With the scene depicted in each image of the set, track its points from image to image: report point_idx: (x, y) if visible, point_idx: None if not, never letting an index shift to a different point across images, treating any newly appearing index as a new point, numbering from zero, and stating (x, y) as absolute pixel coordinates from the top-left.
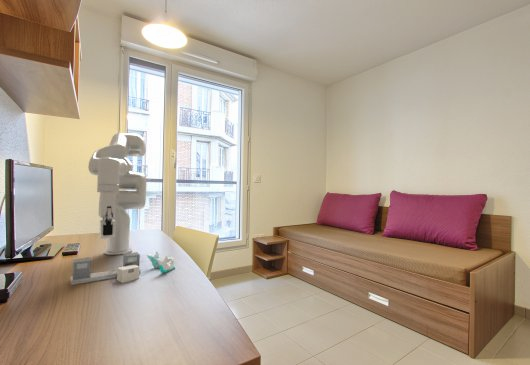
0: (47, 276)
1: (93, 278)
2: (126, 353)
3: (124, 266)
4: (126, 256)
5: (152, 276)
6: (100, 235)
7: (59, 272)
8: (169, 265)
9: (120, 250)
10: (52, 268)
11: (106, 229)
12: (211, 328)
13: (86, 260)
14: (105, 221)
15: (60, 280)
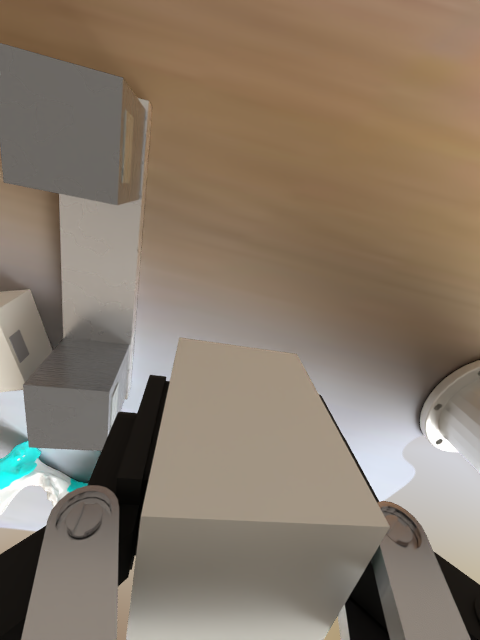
0: (330, 19)
1: (62, 198)
2: None
3: (6, 344)
4: (25, 388)
5: (3, 405)
6: (201, 355)
7: (358, 101)
8: (39, 485)
9: (447, 412)
10: (468, 90)
11: (102, 451)
12: None
13: (23, 155)
14: (36, 592)
15: (196, 61)
